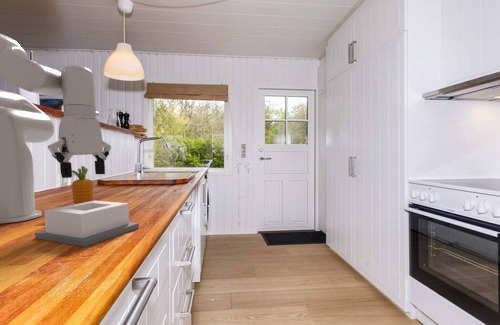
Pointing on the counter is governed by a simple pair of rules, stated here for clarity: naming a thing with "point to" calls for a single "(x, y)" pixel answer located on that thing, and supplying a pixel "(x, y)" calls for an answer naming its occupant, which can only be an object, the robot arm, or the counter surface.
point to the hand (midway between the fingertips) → (84, 175)
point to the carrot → (82, 187)
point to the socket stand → (86, 223)
